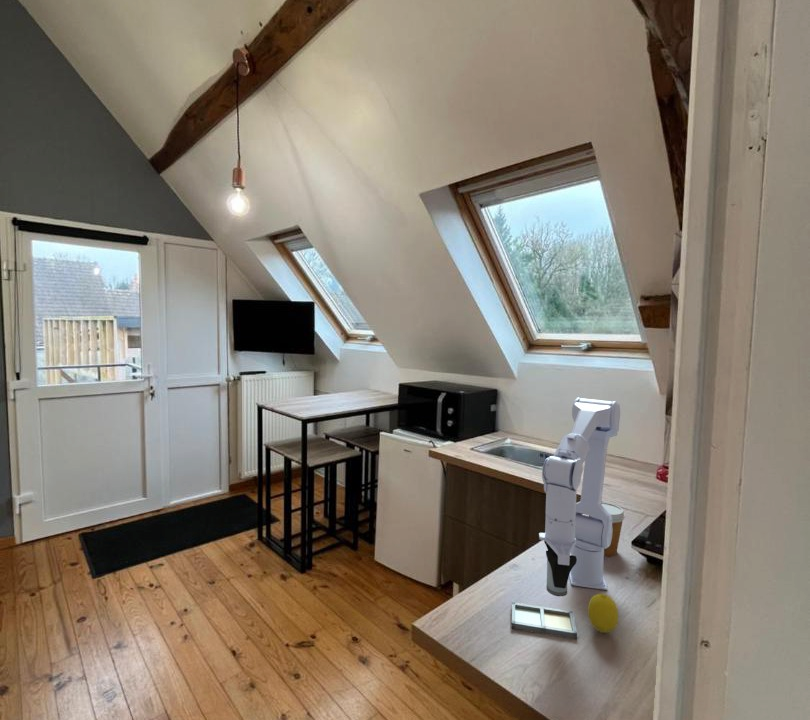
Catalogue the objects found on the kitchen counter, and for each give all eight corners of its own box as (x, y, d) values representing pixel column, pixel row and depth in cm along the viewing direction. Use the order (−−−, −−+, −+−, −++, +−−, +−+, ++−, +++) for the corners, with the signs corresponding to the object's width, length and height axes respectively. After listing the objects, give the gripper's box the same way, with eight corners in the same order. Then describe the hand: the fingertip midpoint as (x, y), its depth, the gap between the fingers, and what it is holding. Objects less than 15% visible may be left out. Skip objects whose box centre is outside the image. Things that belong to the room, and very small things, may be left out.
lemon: (608, 622, 90) (610, 585, 90) (622, 641, 85) (624, 602, 84) (582, 623, 90) (583, 586, 90) (595, 642, 85) (596, 603, 84)
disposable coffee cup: (631, 555, 117) (633, 512, 116) (603, 562, 114) (605, 517, 113) (604, 539, 126) (605, 499, 125) (577, 544, 123) (579, 503, 122)
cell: (546, 583, 92) (546, 550, 91) (566, 586, 90) (567, 553, 90) (546, 594, 88) (547, 560, 87) (568, 597, 87) (568, 563, 86)
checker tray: (511, 607, 95) (511, 602, 95) (572, 616, 92) (572, 611, 92) (511, 628, 88) (511, 622, 88) (576, 639, 85) (577, 633, 85)
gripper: (537, 500, 96) (536, 559, 97) (542, 530, 82) (540, 598, 83) (571, 503, 94) (569, 563, 95) (582, 534, 80) (579, 604, 81)
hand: (558, 580), depth 89 cm, fingers closed on cell, 4 cm apart
